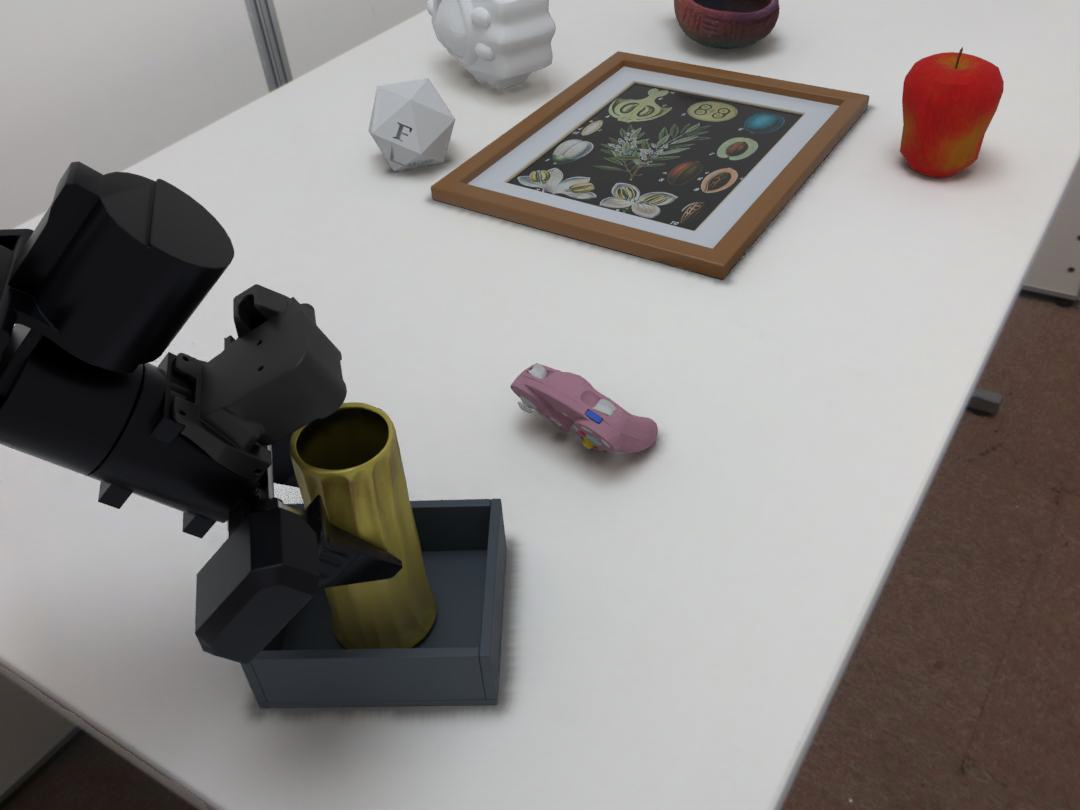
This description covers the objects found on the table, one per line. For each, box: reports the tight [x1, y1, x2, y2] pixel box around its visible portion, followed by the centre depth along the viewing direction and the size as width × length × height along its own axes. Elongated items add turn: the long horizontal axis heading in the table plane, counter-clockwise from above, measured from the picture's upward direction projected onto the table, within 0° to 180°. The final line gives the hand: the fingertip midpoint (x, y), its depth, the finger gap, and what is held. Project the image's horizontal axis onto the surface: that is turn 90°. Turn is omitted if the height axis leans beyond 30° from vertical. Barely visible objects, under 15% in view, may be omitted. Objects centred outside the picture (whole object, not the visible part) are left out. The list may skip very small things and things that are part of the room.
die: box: [367, 77, 456, 173], centre depth 100 cm, size 8×9×10 cm
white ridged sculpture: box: [426, 0, 557, 90], centre depth 113 cm, size 11×18×16 cm, turn 33°
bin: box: [239, 498, 508, 709], centre depth 56 cm, size 13×11×4 cm
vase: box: [290, 401, 437, 649], centre depth 53 cm, size 6×6×14 cm
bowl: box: [673, 0, 781, 51], centre depth 121 cm, size 16×13×8 cm
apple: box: [899, 46, 1005, 179], centre depth 92 cm, size 9×8×12 cm
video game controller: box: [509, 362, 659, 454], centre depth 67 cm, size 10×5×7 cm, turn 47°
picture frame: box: [430, 50, 870, 280], centre depth 101 cm, size 31×2×38 cm
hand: (390, 530), depth 53 cm, fingers closed on vase, 5 cm apart
